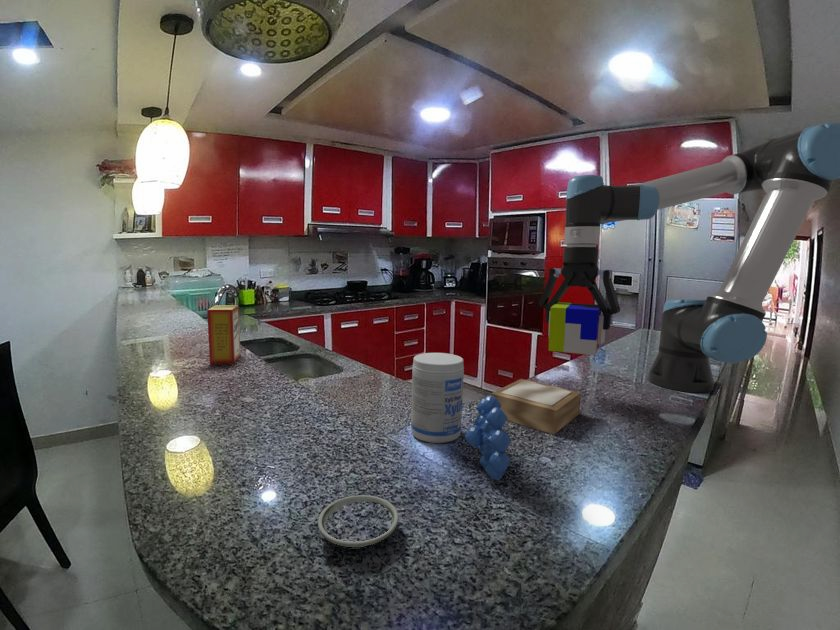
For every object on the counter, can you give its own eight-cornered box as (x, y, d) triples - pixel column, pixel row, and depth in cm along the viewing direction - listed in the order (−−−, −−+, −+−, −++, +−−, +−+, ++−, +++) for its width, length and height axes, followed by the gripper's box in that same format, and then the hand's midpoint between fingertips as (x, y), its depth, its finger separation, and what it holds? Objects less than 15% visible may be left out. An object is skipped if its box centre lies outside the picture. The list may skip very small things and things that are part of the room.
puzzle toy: (595, 355, 94) (598, 310, 92) (548, 350, 98) (550, 307, 97) (598, 346, 103) (601, 304, 101) (555, 342, 107) (557, 302, 106)
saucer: (394, 508, 58) (394, 491, 58) (402, 559, 48) (403, 539, 48) (320, 513, 56) (320, 496, 56) (314, 566, 47) (314, 546, 47)
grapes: (454, 454, 73) (457, 386, 71) (493, 453, 74) (497, 386, 72) (472, 493, 61) (476, 413, 60) (517, 491, 62) (523, 412, 61)
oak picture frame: (579, 413, 93) (581, 391, 92) (554, 434, 82) (556, 409, 81) (519, 398, 101) (521, 377, 101) (489, 415, 91) (491, 392, 90)
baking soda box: (234, 362, 125) (231, 308, 122) (209, 363, 123) (207, 308, 121) (240, 354, 134) (238, 304, 131) (217, 355, 132) (215, 304, 130)
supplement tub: (454, 449, 75) (458, 367, 73) (403, 440, 78) (405, 361, 75) (465, 427, 84) (469, 354, 82) (419, 420, 87) (421, 349, 85)
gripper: (526, 246, 103) (523, 335, 106) (632, 246, 88) (624, 349, 92) (539, 246, 109) (535, 331, 112) (640, 246, 94) (632, 343, 98)
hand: (575, 339), depth 102 cm, fingers closed on puzzle toy, 11 cm apart
